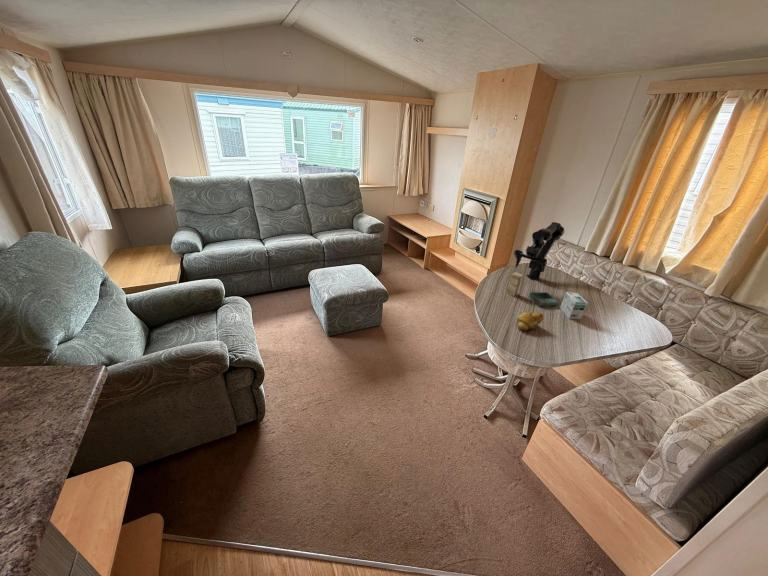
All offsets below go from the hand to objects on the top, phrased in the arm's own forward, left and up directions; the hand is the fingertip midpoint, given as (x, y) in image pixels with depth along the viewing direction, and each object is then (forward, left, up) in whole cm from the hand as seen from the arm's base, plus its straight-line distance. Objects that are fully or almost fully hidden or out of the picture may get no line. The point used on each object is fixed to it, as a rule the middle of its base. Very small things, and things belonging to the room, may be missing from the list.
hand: (523, 269), depth 183 cm
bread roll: (+37, -16, -14) cm, 43 cm away
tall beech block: (+5, -6, -13) cm, 16 cm away
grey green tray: (+15, +8, -13) cm, 21 cm away
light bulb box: (+28, +16, -14) cm, 35 cm away
